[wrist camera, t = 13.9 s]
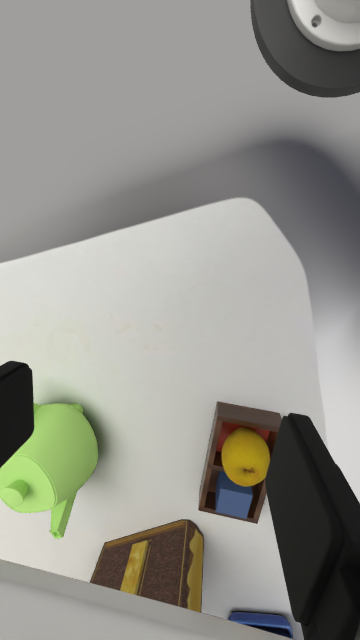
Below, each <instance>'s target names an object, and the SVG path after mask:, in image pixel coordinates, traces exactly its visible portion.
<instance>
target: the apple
mask: <svg viewBox="0 0 360 640" xmlns="http://www.w3.org/2000/svg"><path fill="white" fill-rule="evenodd" d="M269 463H270V454H269V449H268V446H267V444H266V442H265V441H264V439H263V438H262V437H261V436H260V435H259V434H258V433H257V432H256V431H254V430H252V429H250V428H244V427H240V428H238V429H236V430H235V431H233V432H232V433H231V434H230V435H229V436H228V437H227V439H226V440H225V442H224V445H223V448H222V464H223V468H224V470H225V472H226V474H227V476H228V477H229V478H230V480H232V481H233V482H234V483H236V484H238V485H241V486H247V487H248V486H252V485H255V484H257V483H259V482H261V481H262V480H263V479H264V478H265V477H266V474H267V470H268V467H269Z"/></svg>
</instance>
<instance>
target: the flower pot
mask: <svg viewBox="0 0 360 640" xmlns="http://www.w3.org/2000/svg"><path fill="white" fill-rule="evenodd" d="M228 620H229V621H233V622H236V623H240V624H243V625H246V626H250V627H253V628H257V629H260V630H264V631H267V632H270V633H274V634H277V635H281V636H284V637H287V638H291V639H293V635H292V629H291V626H290V623H289V622H288V621H287V619H286V618H284V617H283V616H279V615H271V614H260V613H246V612H234V613H232V614H231V615H230V617H229V619H228Z"/></svg>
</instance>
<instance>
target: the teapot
mask: <svg viewBox="0 0 360 640" xmlns="http://www.w3.org/2000/svg"><path fill="white" fill-rule="evenodd" d="M33 404H34V431H33V434H32V436H31V437H30V438H29V439H28V440H27V441H26V442H25V443H24V444H23V445H22V446H21V447H20V448H19V449H18V450H17V452H16V453H15V454H14V455H13V456H12V457H11V458H10V459H9V460H8V461H7V462H6V463H5V464H4V465H3V466H2V467H1V468H0V498H1V499H2V501H3V502H4V503H5V504H6V505H7V506H8V507H10V508H11V509H13V510H14V511H17V512H20V513H35V512H41V511H46V510H49V509H51V530H50V533H51V534H52V535H53V536H54V538H55V539H57V538H63V536H64V533H65V529H66V526H67V523H68V519H69V516H70V513H71V510H72V506H73V503H74V500H75V496H76V493H77V491H78V490H79V489H80V488H81V487H82V486H83V485H84V483H85V482H86V481H87V480H88V479H89V477H90V476H91V475H92V473H93V471H94V470H95V468H96V465H97V461H98V448H97V439H96V438H95V435H94V432H93V430H92V428H91V426H90V424H89V422H88V421H87V420H86V418H85V417H84V416H83V412H84V411H83V408H82V407H81V406H80V405H79V404H76V403H74V404H71V405H68V404H62V403H54V404H44V405H38V404H35V403H33Z"/></svg>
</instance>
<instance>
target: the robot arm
mask: <svg viewBox="0 0 360 640" xmlns="http://www.w3.org/2000/svg"><path fill="white" fill-rule="evenodd" d="M287 3H288V7H289V11H290V14H291V16H292V18H293V20H294V22H295V24H296V26H297V27H298V29H299V30H300V31H301V33H302V34H303V35H304V36H305V37H306V38H307V39H308V40H310V41H311V42H312V43H313V44H315V45H317V46H320V47H322V48H324V49H327V50H332V51H338V52H339V51H353V50H357V49H360V0H287ZM33 431H34V404H33V380H32V370H31V369H30V368H29V366H28V364H26V363H21V362H15V361H9V362H7V363H5V364H3V365H1V366H0V468H1V467H2V466H3V465H4V464H5V463H6V462H7V461H8V460H9V459H10V458H11V457H12V456H13V455H14V454H15V453H16V452H17V450H18V449H19V448H20V447H21V446H22V445H23V444H24V443H25V442H26V441H27V440H28V439H29V438H30V437H31V436H32V434H33ZM265 486H266V492H267V497H268V501H269V506H270V511H271V516H272V520H273V525H274V530H275V534H276V539H277V544H278V549H279V553H280V558H281V563H282V567H283V572H284V577H285V582H286V586H287V591H288V596H289V601H290V605H291V610H292V614H293V617H294V619H295V621H296V622H300V623H301V627H302V631H303V636H304V640H360V503H359V501H358V500H357V498H356V496H355V494H354V493H353V491H352V489H351V487H350V486H349V484H348V482H347V480H346V479H345V477H344V475H343V473H342V471H341V470H340V468H339V467H338V466H337V465H336V464H335V462H334V461H333V459H332V457H331V455H330V453H329V452H328V450H327V448H326V446H325V444H324V443H323V441H322V439H321V437H320V435H319V434H318V432H317V430H316V428H315V426H314V425H313V423H312V421H311V419H310V418H309V417H308V416H305V415H300V414H295V413H290V414H289V415H288V417H287V416H284V417H283V418H282V421H281V425H280V428H279V432H278V435H277V439H276V442H275V446H274V449H273V453H272V456H271V460H270V463H269V467H268V470H267V474H266V479H265ZM0 640H294V639H291V638H287V637H284V636H281V635H277V634H274V633H270V632H267V631H264V630H260V629H257V628H253V627H250V626H246V625H243V624H240V623H236V622H233V621H229V620H226V619H222V618H219V617H215V616H211V615H208V614H204V613H200V612H197V611H193V610H189V609H185V608H182V607H178V606H174V605H171V604H167V603H163V602H159V601H156V600H152V599H148V598H145V597H141V596H137V595H134V594H130V593H126V592H122V591H119V590H115V589H111V588H107V587H104V586H100V585H96V584H92V583H88V582H85V581H81V580H77V579H73V578H70V577H66V576H62V575H58V574H54V573H51V572H47V571H43V570H39V569H35V568H31V567H28V566H24V565H20V564H16V563H12V562H9V561H5V560H1V559H0Z"/></svg>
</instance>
